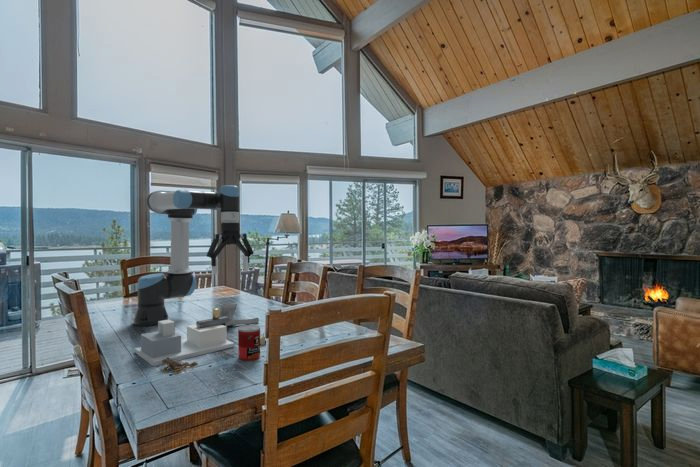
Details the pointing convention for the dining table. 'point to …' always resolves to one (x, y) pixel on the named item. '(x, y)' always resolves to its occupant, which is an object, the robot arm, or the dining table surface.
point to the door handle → (229, 312)
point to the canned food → (249, 342)
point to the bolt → (213, 320)
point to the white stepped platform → (181, 342)
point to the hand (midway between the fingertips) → (231, 272)
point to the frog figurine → (178, 365)
